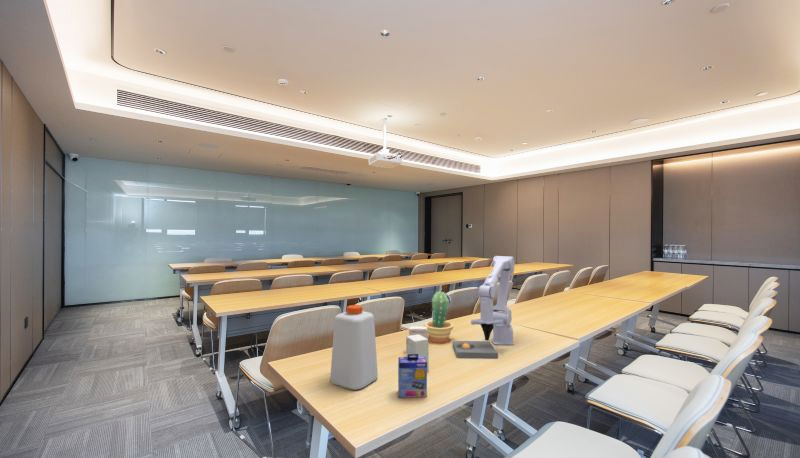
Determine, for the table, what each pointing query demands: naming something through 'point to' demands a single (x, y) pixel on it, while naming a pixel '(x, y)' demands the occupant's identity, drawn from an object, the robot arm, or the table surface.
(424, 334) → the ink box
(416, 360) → the ink cartridge box
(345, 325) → the plastic bottle
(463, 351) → the hole board
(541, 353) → the table surface
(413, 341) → the small box
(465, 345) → the ball
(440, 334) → the potted cactus
